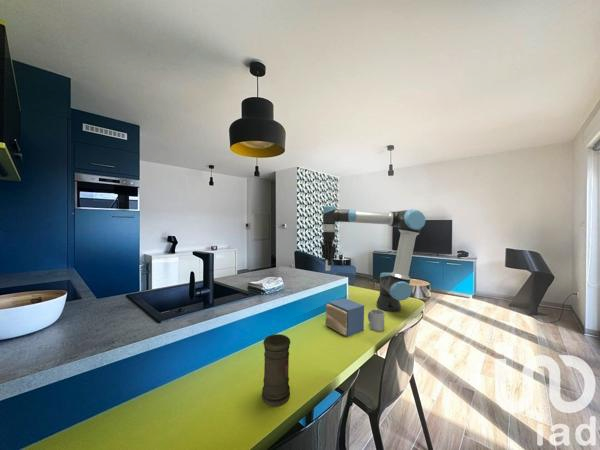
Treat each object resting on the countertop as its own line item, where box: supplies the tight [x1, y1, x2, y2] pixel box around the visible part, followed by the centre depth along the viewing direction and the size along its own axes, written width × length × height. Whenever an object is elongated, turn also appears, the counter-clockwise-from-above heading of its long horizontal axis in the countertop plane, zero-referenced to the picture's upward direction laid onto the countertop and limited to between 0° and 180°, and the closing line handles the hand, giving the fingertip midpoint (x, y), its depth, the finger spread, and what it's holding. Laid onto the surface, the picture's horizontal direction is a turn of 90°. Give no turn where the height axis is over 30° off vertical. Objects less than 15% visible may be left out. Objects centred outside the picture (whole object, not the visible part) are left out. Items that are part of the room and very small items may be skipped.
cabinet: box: [328, 298, 365, 337], centre depth 127 cm, size 12×14×13 cm
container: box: [261, 333, 291, 407], centre depth 77 cm, size 9×9×18 cm
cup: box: [367, 308, 385, 333], centre depth 129 cm, size 7×10×9 cm
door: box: [325, 303, 347, 336], centre depth 123 cm, size 1×15×11 cm, turn 35°
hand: (327, 270), depth 146 cm, fingers closed
